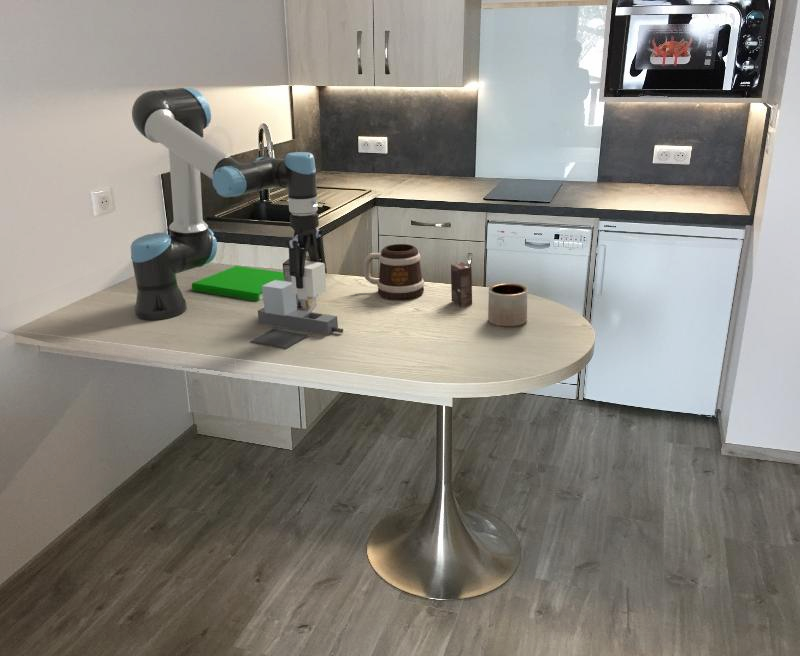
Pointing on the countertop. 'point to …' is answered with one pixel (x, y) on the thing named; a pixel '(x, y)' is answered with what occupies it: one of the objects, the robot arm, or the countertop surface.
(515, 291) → the planter
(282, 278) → the book
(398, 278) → the mug
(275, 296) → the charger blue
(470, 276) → the box
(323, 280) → the block
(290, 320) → the power strip
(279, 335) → the mat
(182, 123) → the robot arm
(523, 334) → the countertop surface
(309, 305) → the coffee box
